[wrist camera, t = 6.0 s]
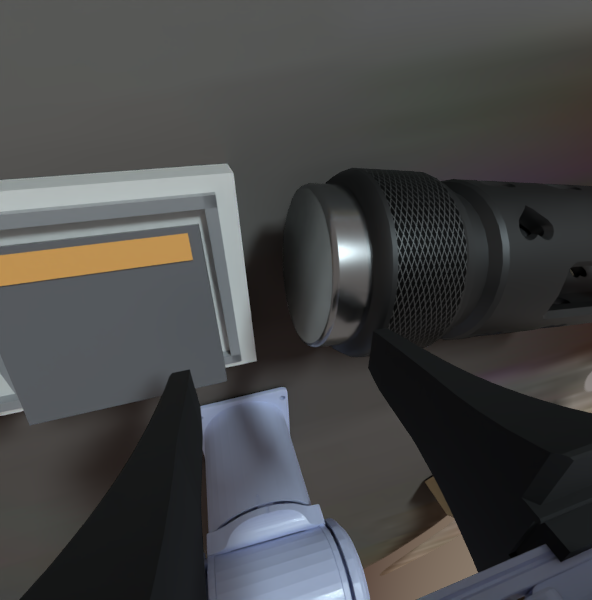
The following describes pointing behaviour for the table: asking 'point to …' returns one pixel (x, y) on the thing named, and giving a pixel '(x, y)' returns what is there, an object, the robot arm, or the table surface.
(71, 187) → the switch panel
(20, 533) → the table surface
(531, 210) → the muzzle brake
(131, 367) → the rocker
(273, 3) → the table surface
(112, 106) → the table surface
